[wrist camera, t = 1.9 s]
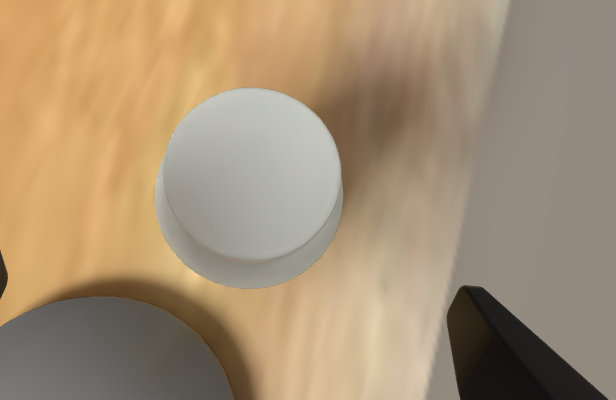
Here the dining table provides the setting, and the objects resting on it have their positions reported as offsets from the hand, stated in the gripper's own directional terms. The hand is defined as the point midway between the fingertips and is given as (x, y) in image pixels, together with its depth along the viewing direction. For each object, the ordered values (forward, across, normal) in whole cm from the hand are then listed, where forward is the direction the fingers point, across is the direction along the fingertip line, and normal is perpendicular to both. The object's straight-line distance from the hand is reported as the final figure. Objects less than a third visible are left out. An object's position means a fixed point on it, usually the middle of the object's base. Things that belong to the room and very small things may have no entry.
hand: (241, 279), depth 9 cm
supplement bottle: (+9, 0, +6) cm, 11 cm away
